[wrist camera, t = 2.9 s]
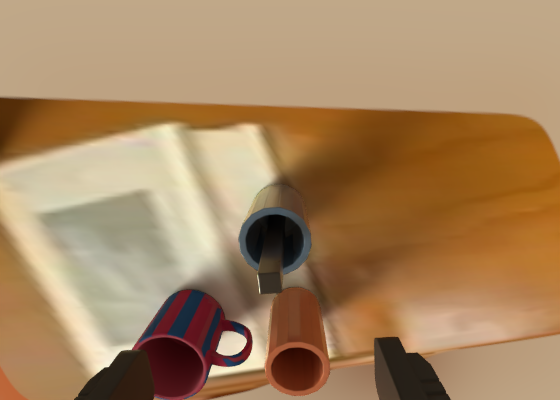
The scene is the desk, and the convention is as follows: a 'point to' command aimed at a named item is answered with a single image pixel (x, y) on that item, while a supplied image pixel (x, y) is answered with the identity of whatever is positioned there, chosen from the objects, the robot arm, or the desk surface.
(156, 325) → the mug
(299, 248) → the holder
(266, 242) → the chopstick
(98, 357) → the desk surface
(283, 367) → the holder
